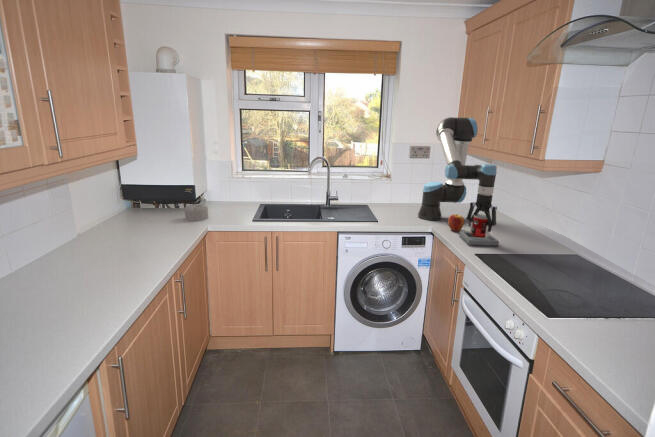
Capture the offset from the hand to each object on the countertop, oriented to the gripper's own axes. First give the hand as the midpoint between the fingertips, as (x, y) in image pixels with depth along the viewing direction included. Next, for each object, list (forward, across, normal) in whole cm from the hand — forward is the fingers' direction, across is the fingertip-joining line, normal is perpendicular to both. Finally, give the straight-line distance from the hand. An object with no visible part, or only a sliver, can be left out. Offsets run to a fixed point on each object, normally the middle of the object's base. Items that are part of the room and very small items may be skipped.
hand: (478, 234), depth 203 cm
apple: (+4, -18, +8) cm, 21 cm away
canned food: (+1, 0, 0) cm, 1 cm away
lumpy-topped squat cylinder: (+4, -131, -100) cm, 164 cm away
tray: (+4, 0, 0) cm, 4 cm away
